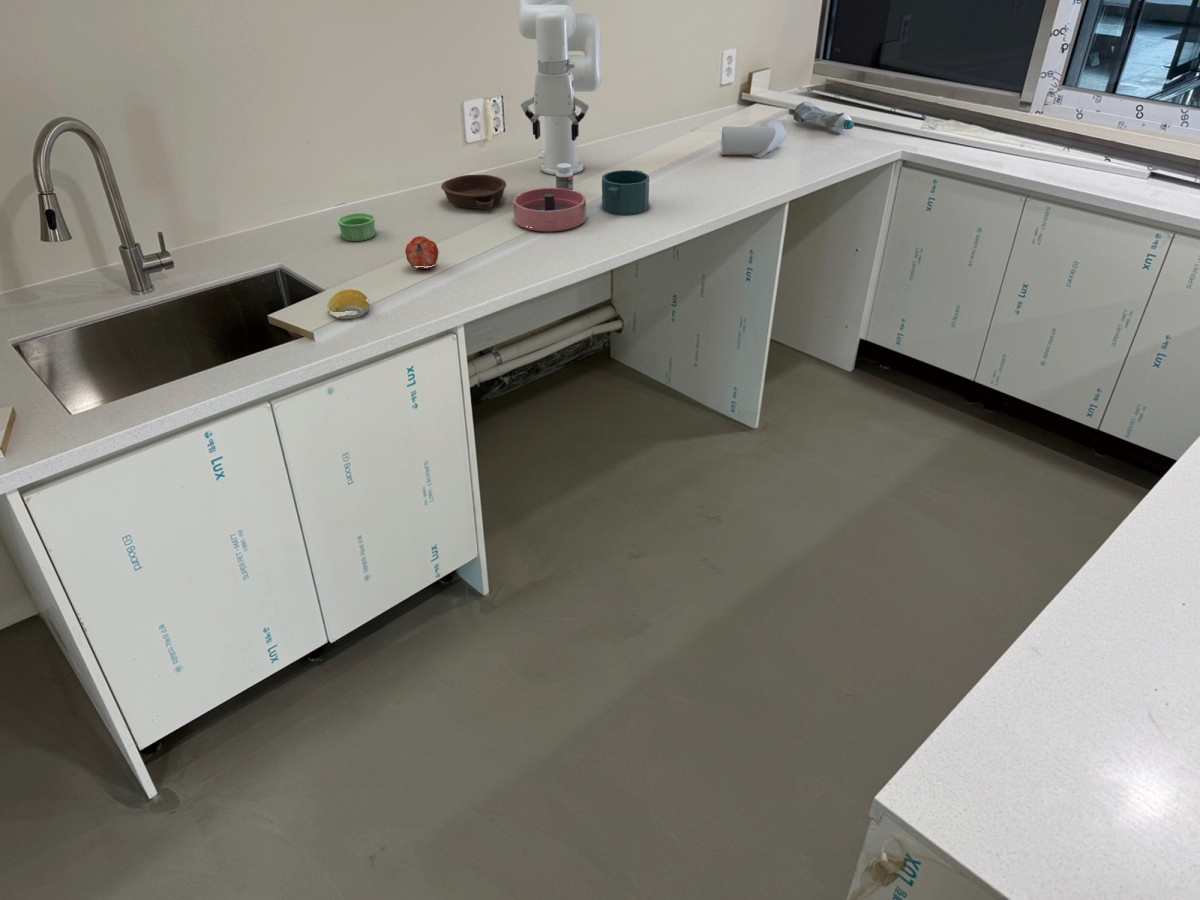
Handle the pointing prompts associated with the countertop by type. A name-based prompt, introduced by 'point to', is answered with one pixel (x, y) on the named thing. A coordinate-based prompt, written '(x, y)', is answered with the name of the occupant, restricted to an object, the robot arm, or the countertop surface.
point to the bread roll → (349, 303)
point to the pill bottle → (564, 176)
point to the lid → (549, 204)
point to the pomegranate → (422, 252)
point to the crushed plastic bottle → (822, 117)
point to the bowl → (549, 219)
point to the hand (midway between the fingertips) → (555, 138)
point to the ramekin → (357, 226)
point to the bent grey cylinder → (752, 139)
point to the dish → (474, 191)
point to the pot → (625, 192)
